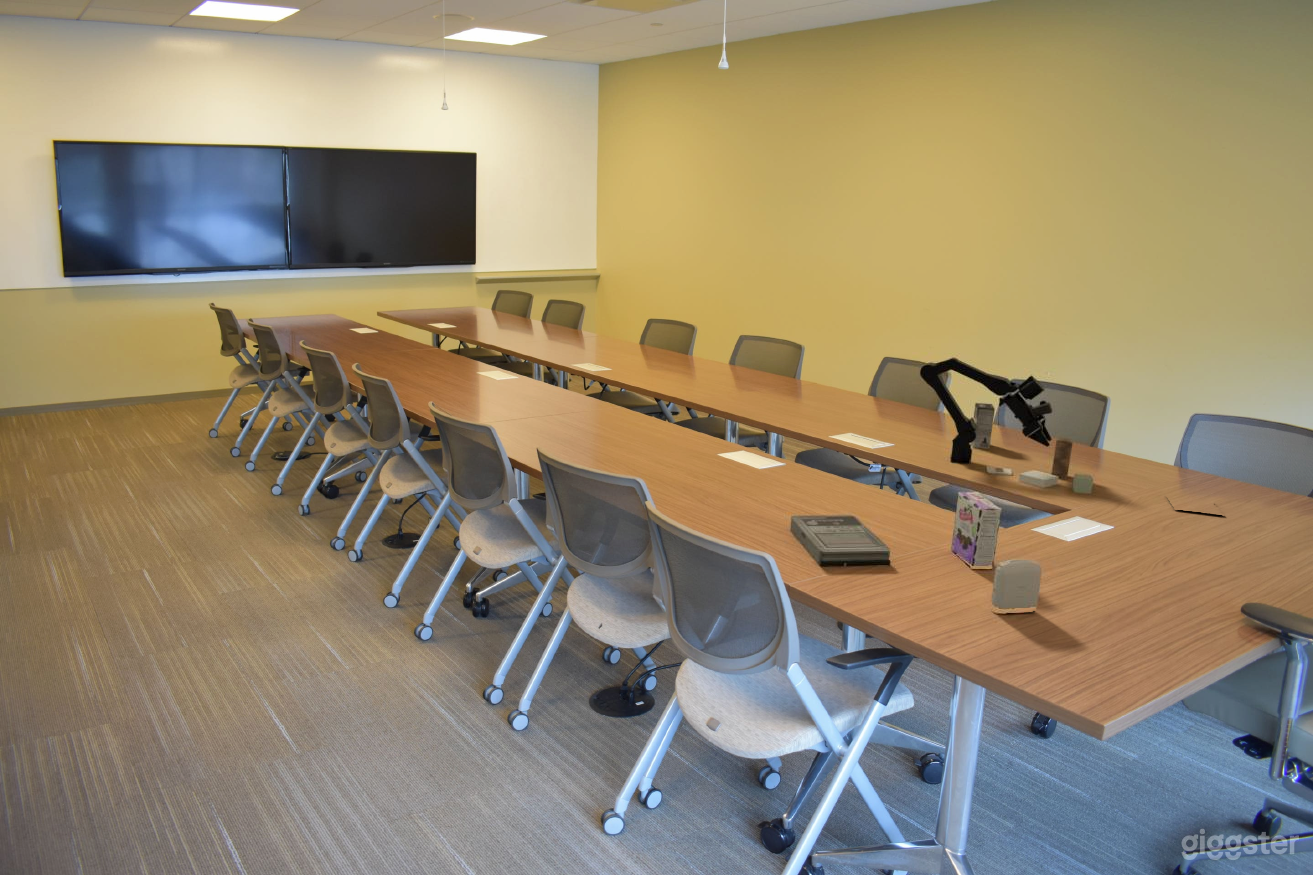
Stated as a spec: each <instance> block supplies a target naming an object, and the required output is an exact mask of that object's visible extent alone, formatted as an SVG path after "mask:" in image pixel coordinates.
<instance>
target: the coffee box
mask: <svg viewBox="0 0 1313 875" xmlns="http://www.w3.org/2000/svg"><path fill="white" fill-rule="evenodd" d="M995 410H996V409H995V406H994V405H993V404H992V403H984V402H983V403H981V402H975V403H974V411H973V417H972V418H973V419H974V422H975V423H976V425H978V426H979V427H978V431H979V433H978V436H977V437H976V439H975V440H974V441H973V442H971V443H970V444H971V447H972V449H973V448H974V449H982V450H983V449H984V450H985V449H987V450H990V447H991V446H990V445H991V440H992V439H991V438H992V432H993V424H994V417H995Z"/></svg>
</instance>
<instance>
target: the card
mask: <svg viewBox="0 0 1313 875" xmlns="http://www.w3.org/2000/svg"><path fill="white" fill-rule="evenodd" d="M986 472H988V474H989V473H990V474H996V473H997V474H996V475H1006V476H1013V474H1012V469H1011V468H1004V467H1003V468H1002V467H994V466H992V467H991V466H986Z"/></svg>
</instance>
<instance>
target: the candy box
mask: <svg viewBox="0 0 1313 875" xmlns="http://www.w3.org/2000/svg"><path fill="white" fill-rule="evenodd" d="M955 510H956V511H955V518H954V524H953V533H952V540H951V547H950V548H951V551H952V552H953V551H954V552H955V553H956V554H958V555H959V556H960V557H962V559H964V560H965V561H967V562H968V563H969V564H971V565H972V566H989V565H993V566H994V562H995V555H996V548H997V543H998V542H997V541H998V537H999V531H1000V530H999V529H1000V524H1001V523H1000V522H1001V516H1002V508H1001V507H999V506H997V505H996V504H995V503H993V502H992V501H991V500H989V499H988V498H987V497H985V496H984V495H982V494H981V493H980V492H979V491H959V492H957V500H956V509H955ZM954 552H953V553H954ZM955 553H954V554H955ZM956 554H955V555H956Z"/></svg>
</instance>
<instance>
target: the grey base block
mask: <svg viewBox="0 0 1313 875" xmlns="http://www.w3.org/2000/svg"><path fill="white" fill-rule="evenodd" d="M1051 474H1052V473H1048V472H1047V473H1046V472H1042V471H1039V470H1035V469H1033V470H1029V471H1025V472H1022V473H1019V475H1018V482H1020V481H1021V482H1020V483H1024V484H1028V485H1031V486H1034V487H1039V488H1042V489H1044V488H1049V487H1051V486H1055V485H1058V483H1059V479H1060V478H1059V476H1055V475H1051Z"/></svg>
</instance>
